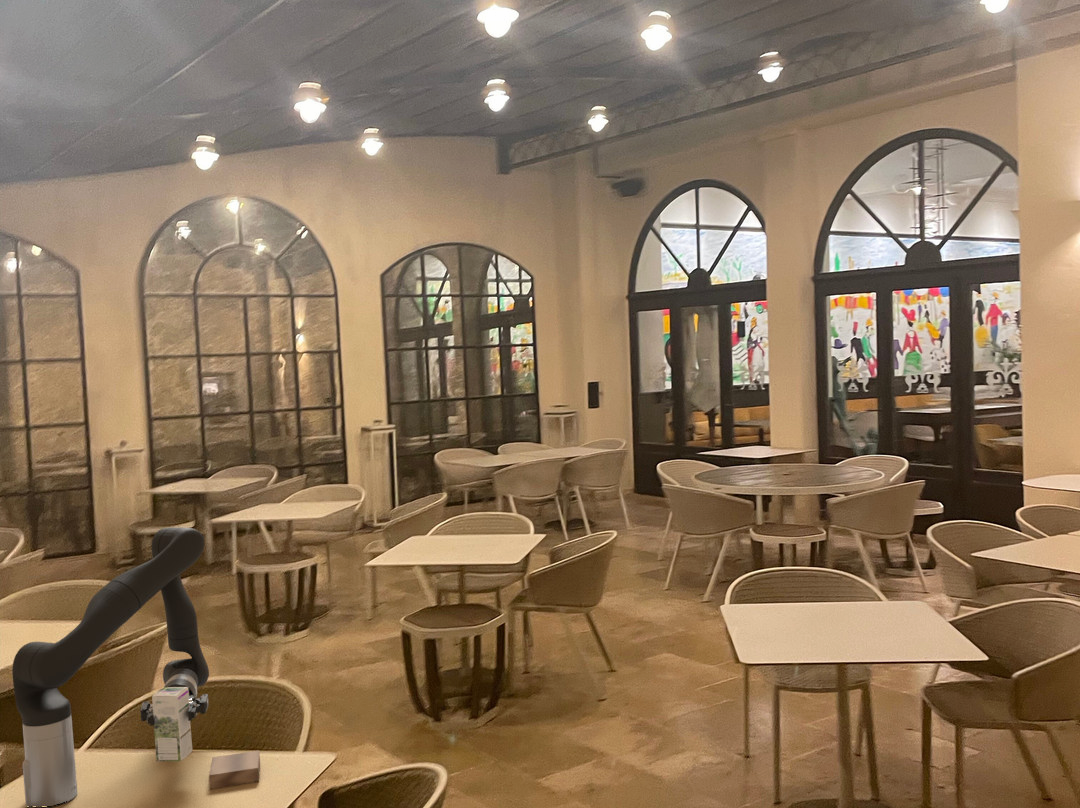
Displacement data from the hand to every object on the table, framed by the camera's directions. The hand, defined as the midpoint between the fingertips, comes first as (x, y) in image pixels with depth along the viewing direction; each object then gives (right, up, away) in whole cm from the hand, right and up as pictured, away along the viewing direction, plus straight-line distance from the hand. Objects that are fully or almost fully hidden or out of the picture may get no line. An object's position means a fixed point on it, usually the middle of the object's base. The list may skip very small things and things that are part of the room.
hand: (170, 718), depth 206 cm
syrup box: (0, -9, +2) cm, 9 cm away
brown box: (+12, -14, +5) cm, 19 cm away
